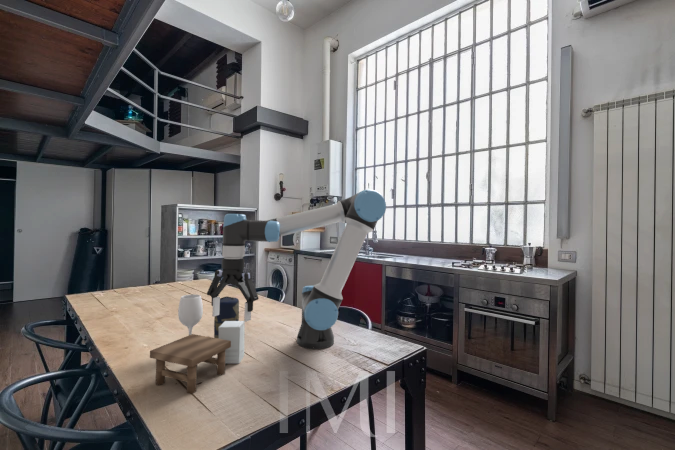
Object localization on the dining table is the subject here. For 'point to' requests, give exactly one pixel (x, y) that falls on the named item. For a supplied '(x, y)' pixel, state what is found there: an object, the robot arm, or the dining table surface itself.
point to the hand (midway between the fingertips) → (231, 318)
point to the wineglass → (190, 310)
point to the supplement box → (233, 340)
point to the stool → (189, 357)
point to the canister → (226, 313)
